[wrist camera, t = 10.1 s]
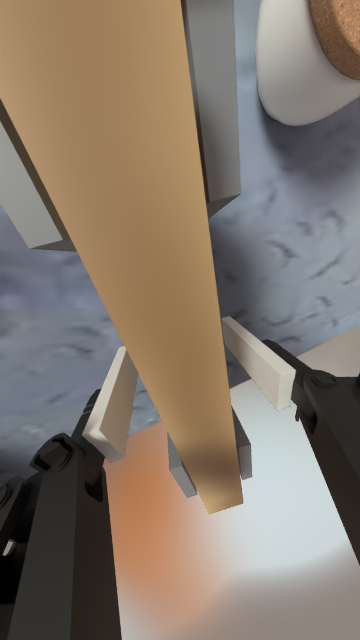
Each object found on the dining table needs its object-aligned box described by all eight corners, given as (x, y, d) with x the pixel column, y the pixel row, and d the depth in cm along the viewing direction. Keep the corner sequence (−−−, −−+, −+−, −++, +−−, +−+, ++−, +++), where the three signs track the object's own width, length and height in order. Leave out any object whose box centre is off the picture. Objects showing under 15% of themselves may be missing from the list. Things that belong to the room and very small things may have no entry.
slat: (193, 433, 17) (209, 514, 12) (98, 173, 7) (-115, -130, 2) (216, 425, 17) (243, 503, 12) (157, 158, 7) (158, -177, 2)
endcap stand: (169, 392, 26) (179, 508, 14) (89, 194, 14) (-422, -268, 2) (215, 378, 27) (263, 481, 15) (177, 172, 14) (302, -366, 2)
